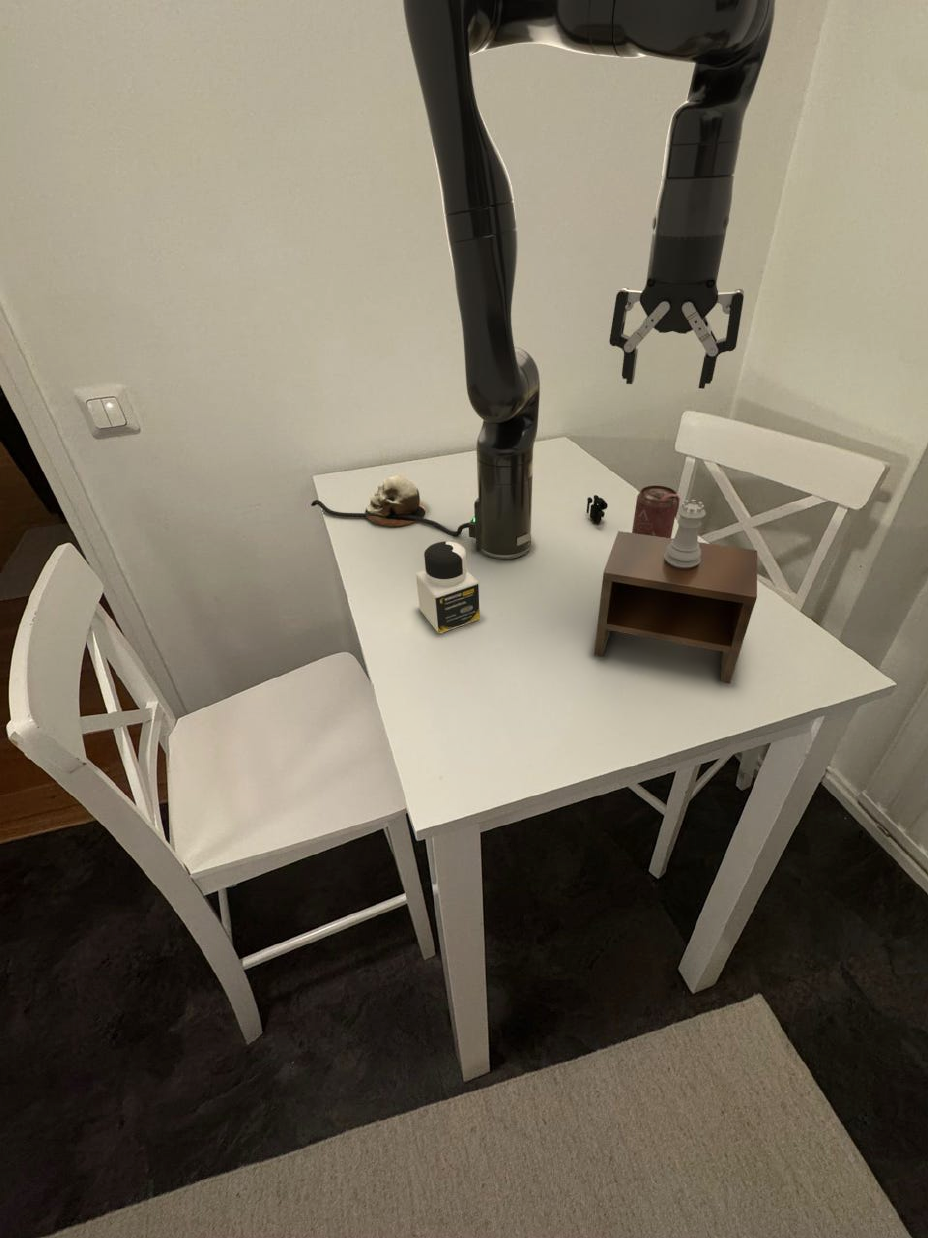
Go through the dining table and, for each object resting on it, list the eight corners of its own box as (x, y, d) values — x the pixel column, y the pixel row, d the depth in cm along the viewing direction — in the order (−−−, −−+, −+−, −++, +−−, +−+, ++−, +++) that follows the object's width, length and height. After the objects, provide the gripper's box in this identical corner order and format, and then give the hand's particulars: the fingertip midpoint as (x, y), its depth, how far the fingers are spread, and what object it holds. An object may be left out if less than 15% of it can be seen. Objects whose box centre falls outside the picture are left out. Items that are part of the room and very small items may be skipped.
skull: (356, 524, 116) (358, 472, 117) (372, 536, 126) (374, 488, 127) (417, 524, 114) (419, 471, 115) (428, 535, 124) (430, 487, 125)
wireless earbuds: (584, 513, 118) (586, 489, 115) (596, 511, 118) (598, 487, 115) (598, 530, 112) (601, 506, 109) (611, 528, 113) (614, 504, 110)
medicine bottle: (438, 634, 90) (432, 567, 83) (419, 610, 95) (411, 544, 88) (480, 619, 93) (478, 553, 85) (459, 596, 98) (455, 531, 90)
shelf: (593, 655, 85) (603, 572, 76) (608, 610, 93) (618, 530, 84) (730, 683, 80) (757, 597, 71) (732, 632, 88) (757, 550, 79)
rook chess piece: (694, 573, 75) (707, 516, 70) (658, 564, 77) (669, 508, 72) (703, 556, 78) (716, 500, 73) (669, 548, 80) (679, 493, 75)
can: (667, 580, 99) (682, 502, 90) (627, 577, 100) (638, 500, 91) (665, 560, 103) (679, 484, 95) (627, 557, 105) (637, 482, 96)
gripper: (761, 223, 65) (727, 379, 75) (627, 225, 69) (612, 372, 79) (761, 232, 60) (725, 398, 69) (615, 233, 64) (601, 390, 74)
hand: (665, 384), depth 74 cm, fingers open, 8 cm apart
